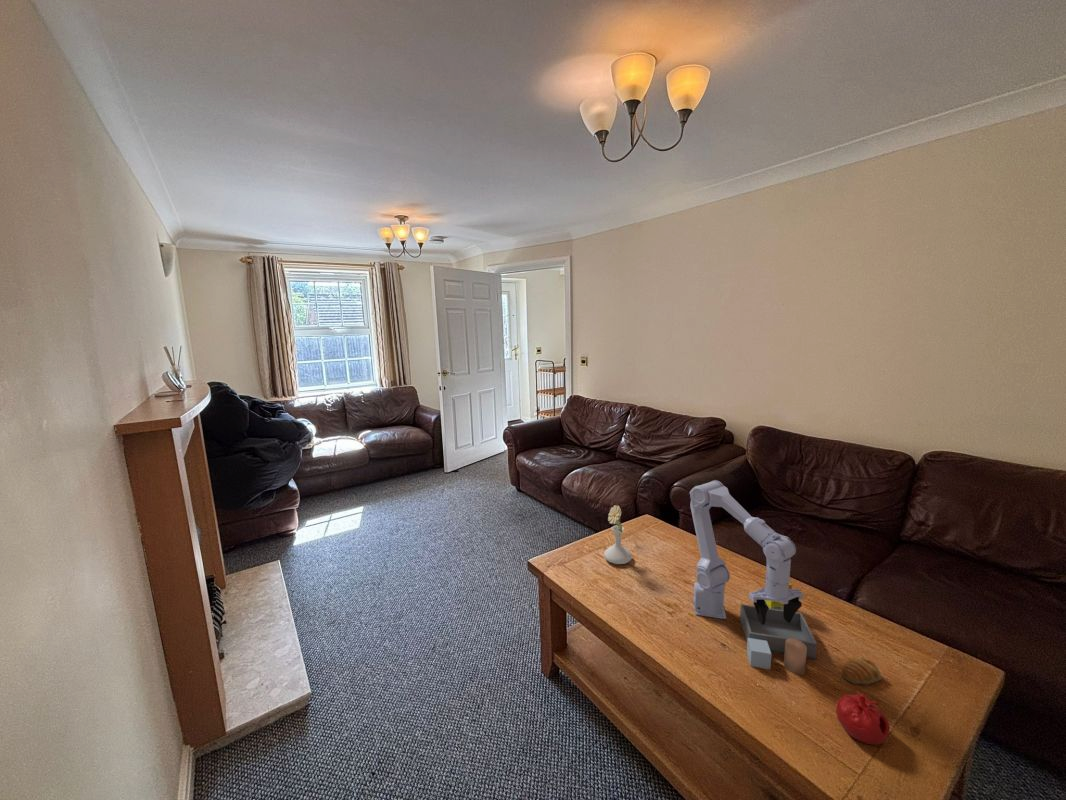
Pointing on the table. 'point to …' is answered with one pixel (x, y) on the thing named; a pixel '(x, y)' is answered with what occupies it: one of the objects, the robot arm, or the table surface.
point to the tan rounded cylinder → (795, 656)
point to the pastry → (861, 671)
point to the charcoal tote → (777, 629)
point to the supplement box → (776, 604)
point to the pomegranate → (862, 719)
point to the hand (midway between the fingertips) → (774, 621)
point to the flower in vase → (617, 540)
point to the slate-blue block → (759, 653)
